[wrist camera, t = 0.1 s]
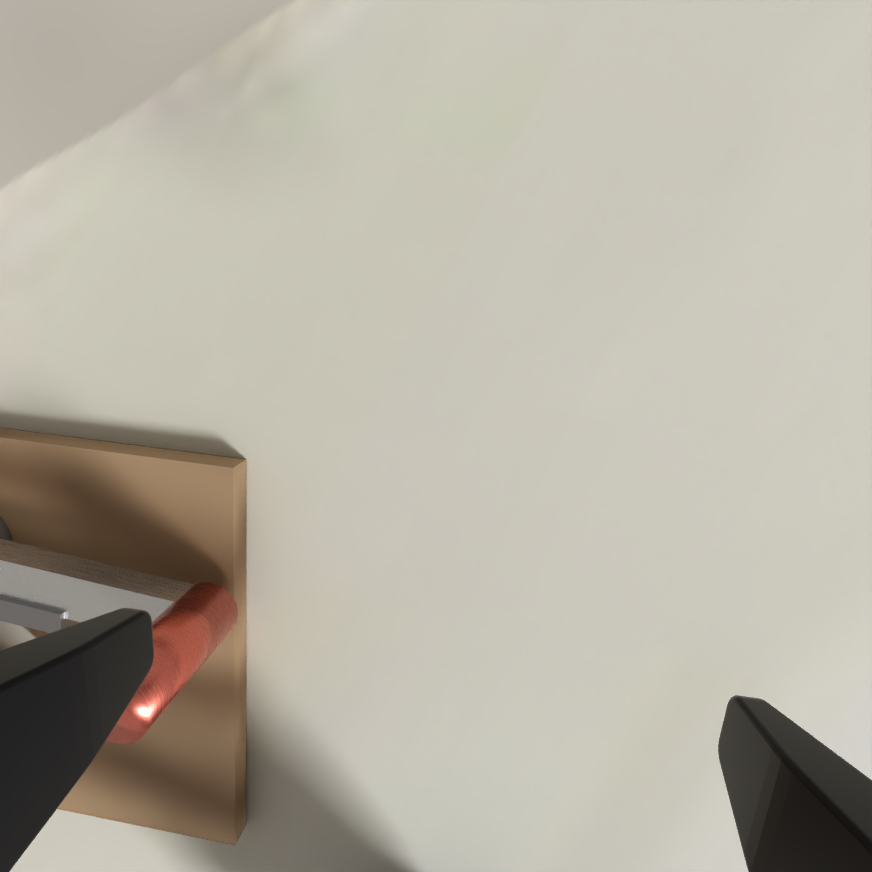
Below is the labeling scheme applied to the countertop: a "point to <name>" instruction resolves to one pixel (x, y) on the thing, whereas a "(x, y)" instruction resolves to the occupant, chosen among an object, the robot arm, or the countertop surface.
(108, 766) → the cracker base
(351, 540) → the countertop surface
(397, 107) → the countertop surface
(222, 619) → the lever
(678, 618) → the countertop surface
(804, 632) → the countertop surface
